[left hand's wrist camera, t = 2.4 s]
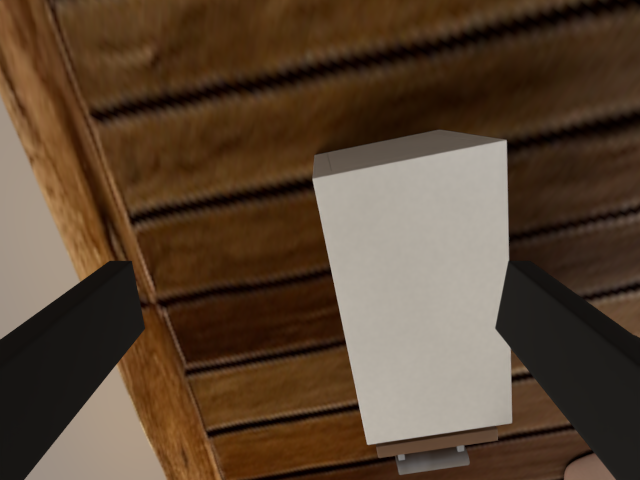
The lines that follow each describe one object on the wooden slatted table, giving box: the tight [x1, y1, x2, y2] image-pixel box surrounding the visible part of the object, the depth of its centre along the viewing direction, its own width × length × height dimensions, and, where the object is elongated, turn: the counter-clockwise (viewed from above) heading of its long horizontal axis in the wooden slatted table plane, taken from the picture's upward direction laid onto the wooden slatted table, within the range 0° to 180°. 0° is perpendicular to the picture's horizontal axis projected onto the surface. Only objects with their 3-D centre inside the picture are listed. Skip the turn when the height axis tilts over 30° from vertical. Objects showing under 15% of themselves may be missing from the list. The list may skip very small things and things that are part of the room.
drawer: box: [376, 426, 498, 475], centre depth 30 cm, size 25×9×9 cm, turn 11°
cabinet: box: [313, 130, 512, 445], centre depth 28 cm, size 20×10×11 cm, turn 11°
